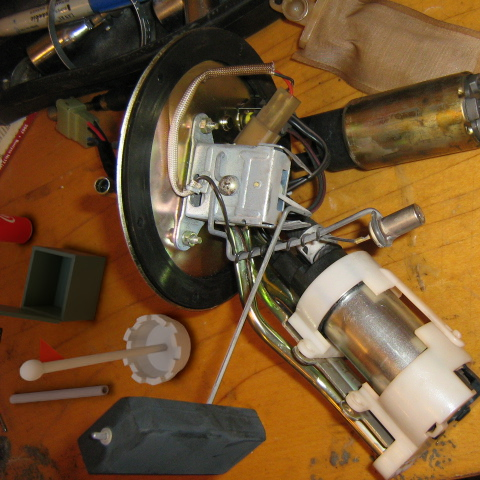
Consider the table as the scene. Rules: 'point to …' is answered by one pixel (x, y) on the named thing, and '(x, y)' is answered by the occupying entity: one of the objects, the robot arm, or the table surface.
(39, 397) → the metal rod
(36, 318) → the box lid
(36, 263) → the dark green open box
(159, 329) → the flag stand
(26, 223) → the beverage can
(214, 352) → the table surface
